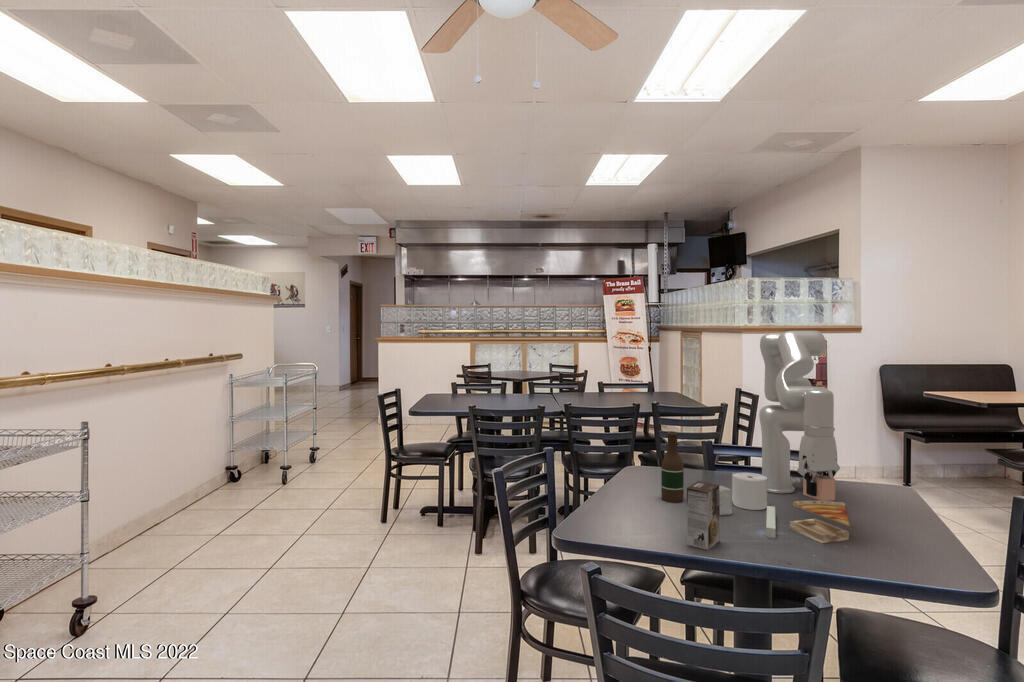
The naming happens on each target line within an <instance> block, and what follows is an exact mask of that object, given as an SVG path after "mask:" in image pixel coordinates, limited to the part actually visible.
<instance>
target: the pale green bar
mask: <svg viewBox="0 0 1024 682" xmlns="http://www.w3.org/2000/svg"><path fill="white" fill-rule="evenodd" d="M765 524H766V525H765V526H766V528H765V529H766V531H765V537H766V538H769V539H776V538H777V537H776V535H777V533H776V506H773V505H772V506H770V505H767V508H766V523H765Z"/></svg>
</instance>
